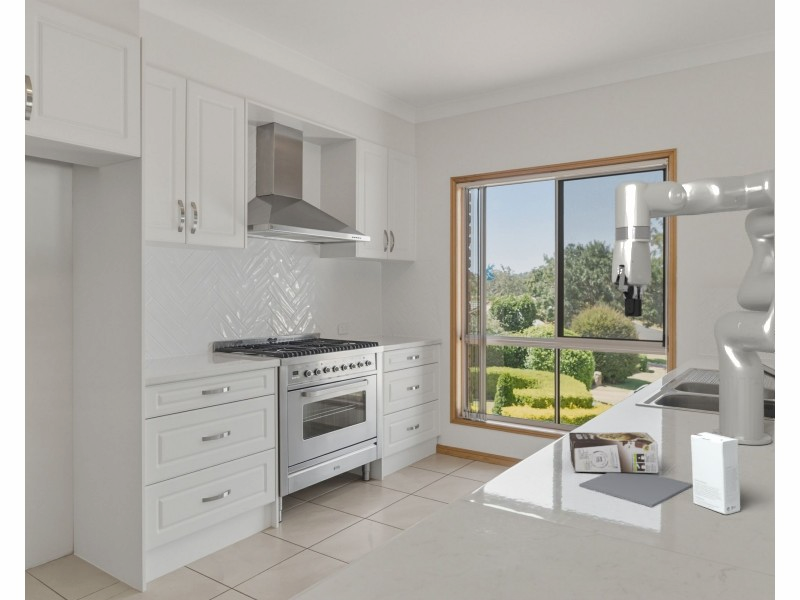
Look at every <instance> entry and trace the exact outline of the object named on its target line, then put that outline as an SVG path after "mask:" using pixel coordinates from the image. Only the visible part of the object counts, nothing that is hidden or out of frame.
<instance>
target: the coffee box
mask: <svg viewBox="0 0 800 600" xmlns="http://www.w3.org/2000/svg"><path fill="white" fill-rule="evenodd" d="M568 435H569V438H568V439H569V450H570V451H569V452H570V461H571V464H572V466H573V469H574V473H575V472H576V473H577V472H579V473H581V472H582V473H609V472H628V473H650V474H659V472H660V471H659V451H658V450H659V449H658V448H659V447H658V445H659V444H658V441H656V440H655V439H654V438H653V437H652V436H651V435H650V434H649V433H648V432H634V431H633V432H631V431H630V432H625V431H624V432H569V433H568Z"/></svg>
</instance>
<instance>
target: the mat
mask: <svg viewBox="0 0 800 600" xmlns="http://www.w3.org/2000/svg"><path fill="white" fill-rule="evenodd" d="M578 487H580V488H584V489H587V490H590V491H594V490H595V491H594V492H598V491H599V492H598V493H601V492H602V493H601V494H604V493H605V495H608V496H612V497H615V498H619V499H623V500H626V501H629V502H632V503H636V504H640V505H643V506H646V507H650V508H654V507H655V506H657V505H660V504H661V503H663V502H665V501H667V500H669V499H671V498H673V497H675V496H676V495H678V494H680V493H682V492H684V491H686V490H689V489H690V488H693V483H690V482H686V481H682V480H679V479H674V478H670V477H665V476H661V475H657V474H655V473H628V472H605V473H604V474H601V475H599V476H596V477H594V478H592V479H589V480H586V481H584V482H581V483H579V484H578Z"/></svg>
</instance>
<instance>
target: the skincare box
mask: <svg viewBox="0 0 800 600" xmlns="http://www.w3.org/2000/svg"><path fill="white" fill-rule="evenodd" d="M690 448H691V472H692V473H691V475H692V477H691V478H692V484H693V486H692V496H693V497H692V498H693V499H692V501H693V504H695V505H697V506H699V507H703V508H705V509H709V510H711V511H714V512H718V513H719V514H723V515H731V514H734V513H737V512H738V513H739V512H740V511H741V490H740V462H739V461H740V460H739V444H738V440H737V439H733V438H729V437H725V436H720V435H716V434H712V432H706V431H705V432H700V433H695V434H691V435H690Z"/></svg>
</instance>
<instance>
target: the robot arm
mask: <svg viewBox="0 0 800 600" xmlns="http://www.w3.org/2000/svg"><path fill="white" fill-rule="evenodd" d="M774 170H775V169H767V170H762V171H760V172H755V173H749V174H744V175H735V176H732V175H731V176H723V177H722V176H719V177H717V176H716V177H705V178H700V179H695V180H690V181H687V182H684V183H683V182H682V183H679V182H676V181H672V180H664V181H657V182H656V181H655V182H647V181H643V180H632V181H625V182H622V183H619V184H617V186H616V187H615V191H614V224H615V225H614V233H615V234H614V236H615V237H614V240H615V241H614V247H613V252H612V261H611V262H612V263H611V283H612V284H613V285H614V286H616V287H617V286H618V290H619V291H620V292H622V294H623V299H624V316H625V317H628V318H629V317H630V318H631V317H632V318H634V317H635V318H637V317H642V314H643V313H642V311H643V310H642V301H643V300H642V299H643V297H644V296H643V295H644V292H645V291H647V290H648V285H650V284H651V282H652V259H651V258H652V257H651V256H652V255H651V248H650V243H651V241H652V240H651V237H652V235H651V234H652V233H651V230H652V229H651V227H652V226H651V219H658V218H659V219H660V218H669V217H679V216H699V215H708V214H709V215H710V214H715V213H716V214H719V213H725V212H726V213H727V212H728V213H730V212H740V211H741V212H742V211H748V210H751V211H750V212H749V213H748V214H747V215H746V217H745V220H744V229H745V232H746V234H747V235H746V236H747V237H748V239H749V241H750V245H751V248H752V258H751V261H750V263H749V266H748V267H747V270H746V272H745V275H743V276H744V277H743V278H742V280H741V283H740V284H739V287H738V290H737V293H736V294H737V295H736V301H737V304H738V305H739V306H740V307H741V308H743V311H742V310H739V311H738V310H736V311H735V310H734V311H729V312H726V313H723V314H721V315H720V316H719V317H718V318H717V319H716V321H715V324H714V327H713V332H714V333H713V334H714V339H715V345H716V347H717V348H716V349H717V353H718V354H717V355H718V428H715V429H713V430H712V431H711V434H716V435H720V436H725V437H729V438H733V439H737V440H738V445H748V446H749V445H750V446H758V445H759V446H760V445H769V444H771V443H772V436H770V435H769V434H768V433H765V429H764V428H765V408H764V407H765V402H764V401H765V396H764V395H765V390H764V389H765V388H764V387H765V371H764V365H763V362H762V360H761V357H760V356H759V354H758V352H759V353H766V354H767V353H768V354H775V353H774V342H775V336H774ZM744 309H745V310H747V311H744Z"/></svg>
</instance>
